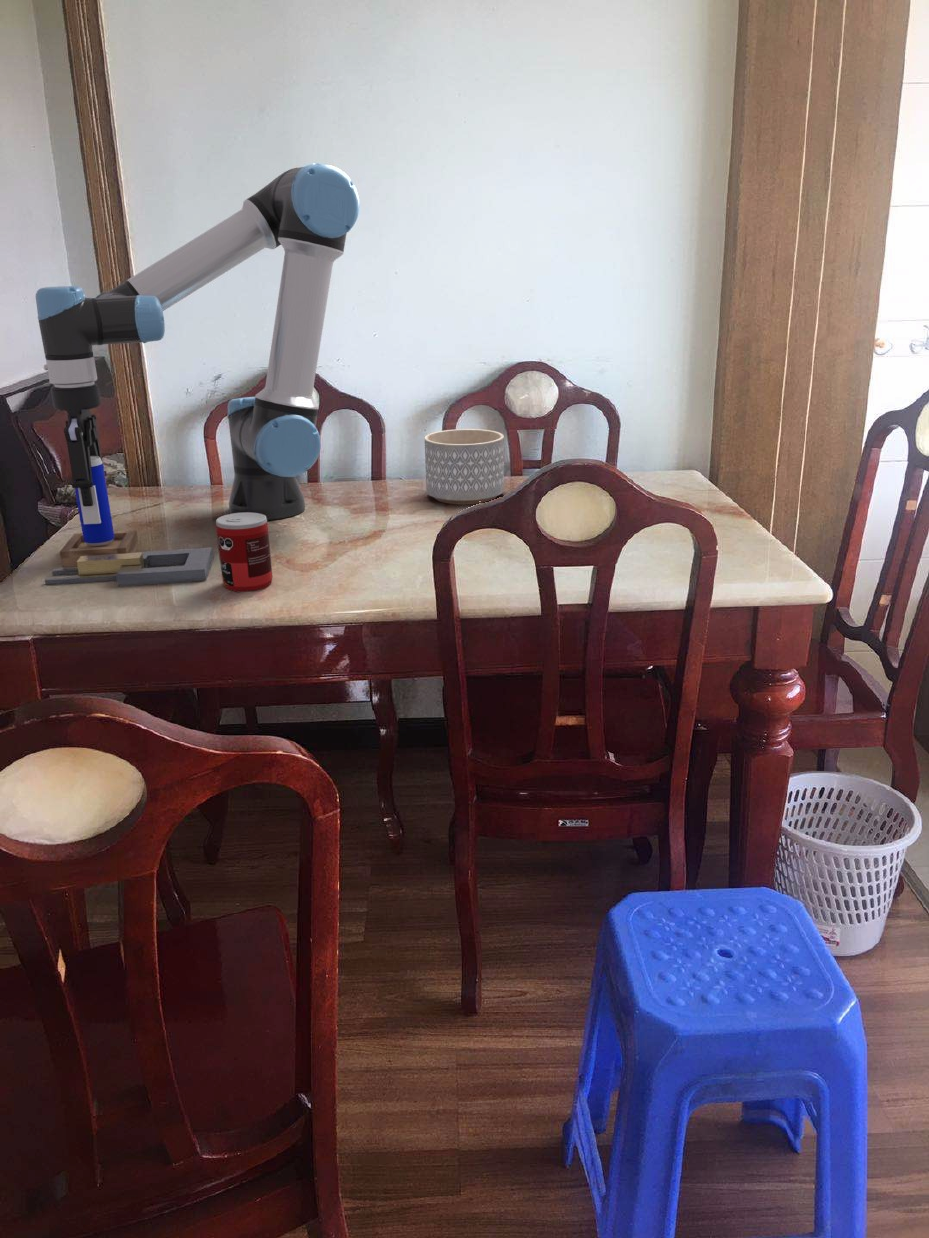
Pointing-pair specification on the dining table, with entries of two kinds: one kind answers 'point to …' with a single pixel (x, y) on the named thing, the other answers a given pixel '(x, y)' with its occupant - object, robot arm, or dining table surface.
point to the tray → (98, 547)
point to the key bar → (107, 563)
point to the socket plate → (150, 569)
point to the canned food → (244, 551)
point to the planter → (464, 465)
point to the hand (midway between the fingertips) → (96, 518)
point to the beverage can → (103, 530)
